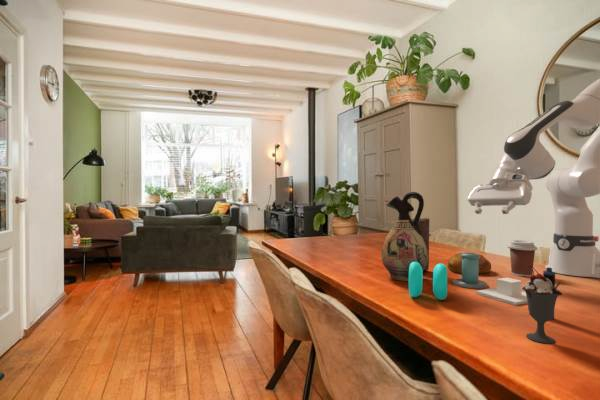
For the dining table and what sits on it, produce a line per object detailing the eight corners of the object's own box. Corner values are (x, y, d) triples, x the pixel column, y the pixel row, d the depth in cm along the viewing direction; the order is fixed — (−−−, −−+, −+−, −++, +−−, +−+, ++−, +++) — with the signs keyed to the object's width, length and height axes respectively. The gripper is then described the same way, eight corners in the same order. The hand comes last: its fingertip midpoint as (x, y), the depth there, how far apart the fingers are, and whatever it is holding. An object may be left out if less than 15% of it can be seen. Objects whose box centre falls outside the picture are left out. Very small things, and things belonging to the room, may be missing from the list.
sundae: (513, 332, 76) (514, 262, 76) (543, 331, 77) (544, 262, 76) (536, 346, 70) (538, 269, 69) (568, 345, 70) (570, 269, 70)
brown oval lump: (496, 281, 129) (500, 259, 129) (453, 274, 130) (457, 253, 129) (478, 271, 144) (481, 251, 143) (439, 265, 144) (442, 245, 144)
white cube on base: (503, 288, 110) (503, 273, 110) (543, 299, 100) (544, 282, 99) (476, 293, 105) (476, 277, 105) (515, 305, 94) (515, 287, 94)
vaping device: (550, 320, 83) (551, 269, 83) (527, 313, 88) (528, 265, 88) (557, 318, 85) (558, 268, 84) (533, 312, 89) (534, 264, 89)
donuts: (447, 305, 95) (447, 267, 95) (408, 301, 98) (408, 264, 98) (445, 294, 104) (446, 260, 104) (410, 291, 108) (410, 258, 108)
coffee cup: (504, 274, 129) (504, 241, 129) (510, 270, 136) (511, 239, 136) (534, 278, 123) (534, 244, 123) (539, 274, 130) (539, 241, 129)
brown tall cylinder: (430, 273, 131) (430, 219, 130) (409, 272, 132) (409, 218, 132) (427, 269, 138) (427, 217, 138) (407, 268, 140) (407, 217, 139)
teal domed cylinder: (468, 279, 119) (469, 252, 119) (483, 283, 114) (483, 255, 114) (457, 281, 117) (457, 253, 117) (471, 285, 112) (471, 256, 112)
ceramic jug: (377, 281, 120) (378, 191, 119) (384, 271, 134) (385, 191, 133) (431, 286, 113) (432, 192, 113) (433, 275, 128) (434, 191, 127)
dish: (467, 279, 122) (467, 277, 122) (494, 286, 113) (494, 284, 113) (446, 282, 118) (446, 280, 118) (472, 290, 109) (472, 287, 109)
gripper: (472, 179, 136) (458, 207, 130) (531, 175, 118) (518, 206, 113) (479, 191, 138) (466, 218, 133) (538, 188, 121) (525, 219, 116)
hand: (490, 212), depth 123 cm, fingers open, 8 cm apart
